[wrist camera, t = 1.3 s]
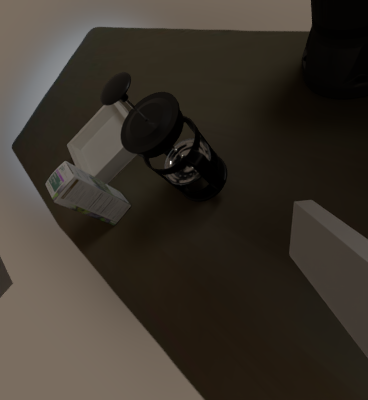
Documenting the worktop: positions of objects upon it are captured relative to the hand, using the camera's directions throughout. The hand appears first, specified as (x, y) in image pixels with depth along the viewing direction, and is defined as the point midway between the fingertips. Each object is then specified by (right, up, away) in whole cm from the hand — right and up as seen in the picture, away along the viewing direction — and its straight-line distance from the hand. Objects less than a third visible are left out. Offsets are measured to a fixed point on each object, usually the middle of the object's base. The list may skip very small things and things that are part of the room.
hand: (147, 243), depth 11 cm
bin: (-17, +15, +50) cm, 55 cm away
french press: (+6, +6, +33) cm, 34 cm away
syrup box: (-13, 0, +41) cm, 43 cm away
